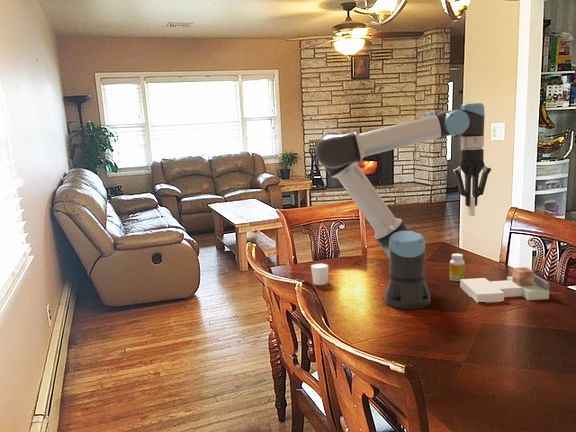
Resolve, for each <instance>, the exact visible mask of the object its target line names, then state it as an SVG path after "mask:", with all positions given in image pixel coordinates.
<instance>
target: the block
mask: <svg viewBox="0 0 576 432" xmlns="http://www.w3.org/2000/svg"><path fill="white" fill-rule="evenodd" d="M534 274H535V271H534V270H533V269H531V268H529V267H512V276H513V279H512V282H514V283H515V284H516V285H518V286H533V285H534Z"/></svg>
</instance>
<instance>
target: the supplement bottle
mask: <svg viewBox="0 0 576 432" xmlns="http://www.w3.org/2000/svg"><path fill="white" fill-rule="evenodd" d="M449 260H450V259H449ZM465 267H466V263H465V260H464V254H462V253H459V252H457V253H452V254H451V260H450V261H449V279H450V280H451V281H454V282H460V279H466V278H465V276H466V275H465V271H466V270H465V269H466V268H465Z"/></svg>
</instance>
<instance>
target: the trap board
mask: <svg viewBox="0 0 576 432" xmlns="http://www.w3.org/2000/svg"><path fill="white" fill-rule="evenodd" d="M512 279H513V275H511V276H506V280H492V281H491V280H488V279H487V278H486V277H481V278H480V277H479V278H478V277H477V278H465V279H460V281H459V283H460V284H459V288H460V289H461V290H463V292H464V293H465V294H466V295H468V296H469V297H470V298H471V297H472V298H473V299H474V300H475V301H476V302H475V301H474V300H473V299H472V298H471V299H472V300H473V301H474V302H475V303H477V304H479V303H478V302H486V303H498V302H499V303H501V302H502V301H504V302H505V298H508V297H509V298H511V297H512V298H513V297H523V298H524V299H526V300H527V301H534V300H535V301H536V300H538V301H539V300H549V299H550V282H548V281H547V280H545V279H543V278H542V277H540V276H539V275H537V274H536V273H534V285H533V286H518V285H516V284H515V283H514V282H512Z"/></svg>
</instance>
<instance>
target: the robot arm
mask: <svg viewBox="0 0 576 432" xmlns="http://www.w3.org/2000/svg"><path fill="white" fill-rule="evenodd" d="M485 114H486V113H485V105H484V103H481V102H475V103H473V102H472V103H462V104H461V106H460V109H454V110H435V111H428V112H427V113H426V115H425V117H422V118H417V119H414V120H409V121H406V122H402V123H397V124H393V125H390V126H385V127H381V128H378V129H373V130H369V131H366V132H365V131H364V132H362V133H357V132H356V131H353V132H348V133H342V134H341V133H338V132H327V133H325V134H323V135H322V136H320V137H319V139H318V140H317V141H316V144H315V148H314V151H315V155H316V159H317V161H318V162H319V163H320V164H321V165H322V166H323V167H324V169H325V170H326V172H327V173H328V174H329V176H330V177H331V178H334V179H337V180H338V181H339V182H340V184H341V186H343V188H344V189H345V191H346V192H347V194H348V195H349V196H350V198H351V199H352V201H353V202H354V204H356V206H357V208H358V209H359V210H360V212H361V213H362V215H363V216H364V218H365V220H367V221H368V223H369V224H370V226H371V227H372V228H373V230H374V232H375V233H374V239H375V240H376V241H377V243H378V244H379V246H380V248H382V250H383V252H384V253H385V254H386V256H387V258H388V259H389V260H388V261H389V280H388V284H387V287H386V290H385V294H384V302H385V304H387V305H389V306H390V307H392V308H397V309H401V310H417V309H422V308H426V307H428V306H429V305H430V304H431V293H430V291H429V289H428V285H427V282H426V241H425V237H424V236H423V234H421V233H419V232H415V231H413V230H409V228H408V227H407V225H406V224H405V222H404V221H403V219H401V218H398V217H395V216H394V214H393V213H392V210H390V209H389V207H388V206H387V204H386V203H385V201H384V199H382V197H381V196H380V194H379V193H378V191H377V190H376V188H375V187H374V186H373V184H372V182H371V181H370V180H369V178H368V177H367V176H366V174H365V173H364V172H363V170H362V168H361V167H360V166H359V164H358V162H360V161H363V159H364V157H369V156H373V155H376V154H380V153H381V154H382V153H383V152H384V153H385V152H388V151H393V150H395V149H400V148H404V147H408V146H411V145H415V144H420V143H425V142H428V141H432V140H435V139H440V138H445V137H448V136H458V135H460V148H461V150H460V163H459V165H458V167H457V168H454V169H452V172H453V173H454V174H453V175H455V178H456V179H455V180H456V183H457V187H458V192H459V195H460V196H462V197H465V198H464V199H465V200H464V201H465V202H464V203H465V207H467V215H468V216H470V217H474V216H475V213H476V207H477V206H478V200H479V199H478V198H479V196H483V195H484V191H485V189H486V185H487V181H488V177H489V174H490V173H491V171H492V168H491V167H488V166H487V165H485V162H484V158H485V157H484V152H485V150H484V149H483V148H484V145H485V117H486V115H485ZM462 172H463V174H464V180H463V177H462ZM480 173H482V174H481V176H480ZM479 177H480V181H479Z"/></svg>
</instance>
